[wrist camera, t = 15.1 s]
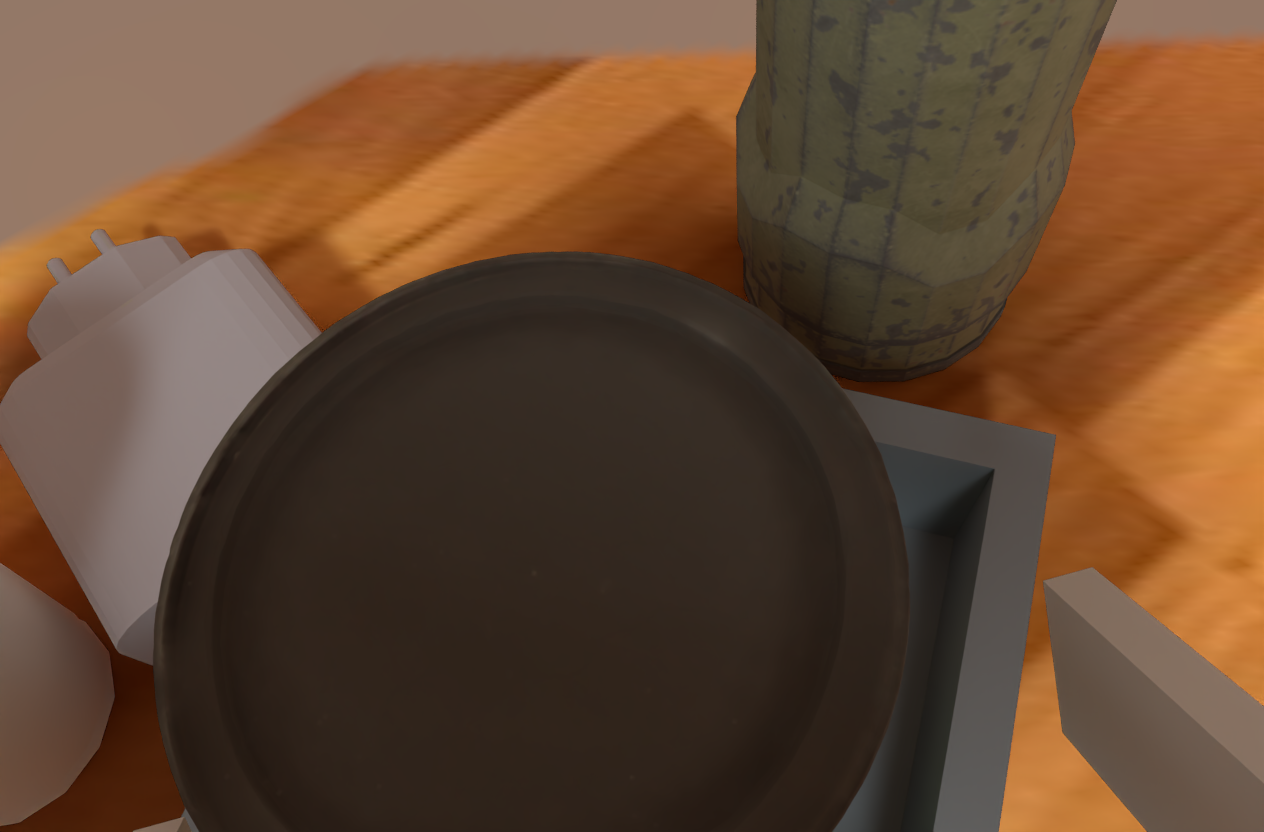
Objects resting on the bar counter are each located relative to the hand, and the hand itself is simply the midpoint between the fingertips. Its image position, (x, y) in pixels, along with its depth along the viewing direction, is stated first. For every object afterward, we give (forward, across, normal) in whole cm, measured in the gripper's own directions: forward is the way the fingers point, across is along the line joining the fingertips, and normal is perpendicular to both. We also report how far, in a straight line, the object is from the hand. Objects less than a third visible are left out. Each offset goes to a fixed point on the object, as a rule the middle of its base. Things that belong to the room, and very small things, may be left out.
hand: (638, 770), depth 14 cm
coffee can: (+10, -1, -6) cm, 12 cm away
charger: (+20, -12, +2) cm, 24 cm away
